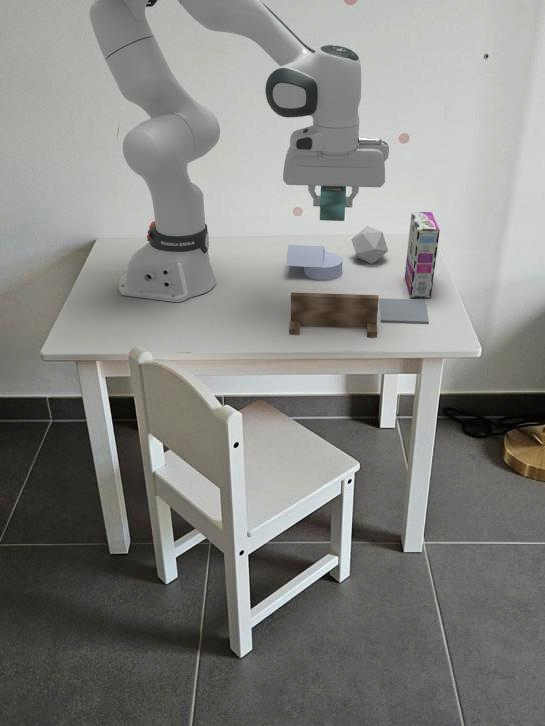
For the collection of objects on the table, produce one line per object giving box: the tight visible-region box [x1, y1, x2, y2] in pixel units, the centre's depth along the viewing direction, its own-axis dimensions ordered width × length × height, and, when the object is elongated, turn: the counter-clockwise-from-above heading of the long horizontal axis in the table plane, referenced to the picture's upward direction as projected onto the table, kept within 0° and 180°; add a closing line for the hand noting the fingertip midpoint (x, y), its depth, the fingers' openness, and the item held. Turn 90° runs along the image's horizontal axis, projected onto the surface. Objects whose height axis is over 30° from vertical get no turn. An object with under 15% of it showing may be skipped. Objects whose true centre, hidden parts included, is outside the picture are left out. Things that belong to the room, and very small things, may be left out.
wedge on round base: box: [285, 244, 344, 281], centre depth 175 cm, size 9×7×13 cm
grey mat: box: [379, 297, 430, 325], centre depth 159 cm, size 10×10×1 cm
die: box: [350, 226, 389, 265], centre depth 180 cm, size 8×9×10 cm
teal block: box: [319, 186, 347, 222], centre depth 148 cm, size 5×5×6 cm
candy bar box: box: [404, 211, 441, 299], centre depth 164 cm, size 11×5×16 cm, turn 178°
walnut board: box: [288, 291, 380, 338], centre depth 151 cm, size 18×5×7 cm, turn 85°
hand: (332, 206), depth 149 cm, fingers closed on teal block, 5 cm apart
